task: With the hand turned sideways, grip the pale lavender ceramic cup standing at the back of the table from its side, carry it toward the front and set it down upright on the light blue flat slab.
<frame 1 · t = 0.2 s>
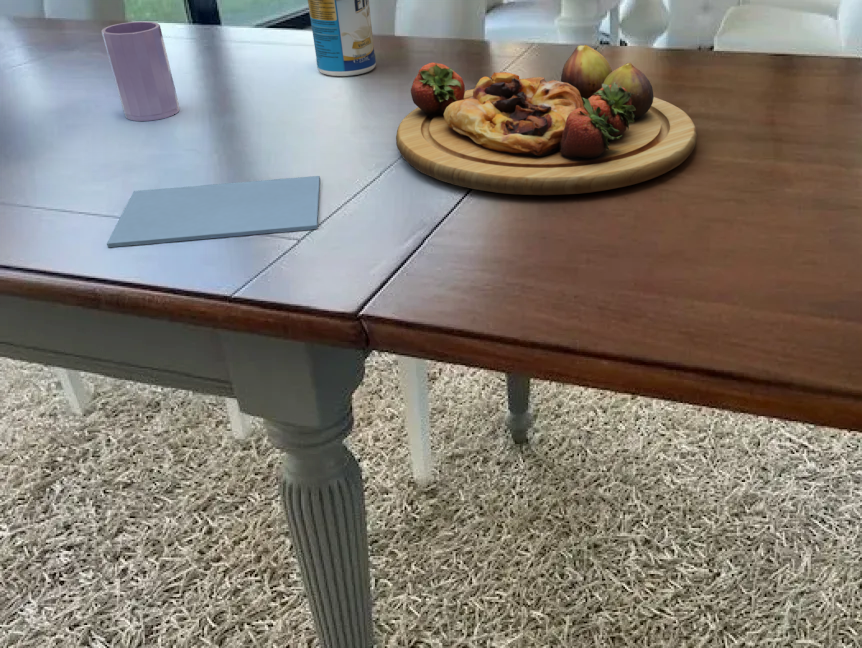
wooden plate: (544, 145, 93), on the table
cup: (152, 112, 105), on the table
beverage bottle: (347, 70, 120), on the table
light blue flat slab: (221, 211, 80), on the table
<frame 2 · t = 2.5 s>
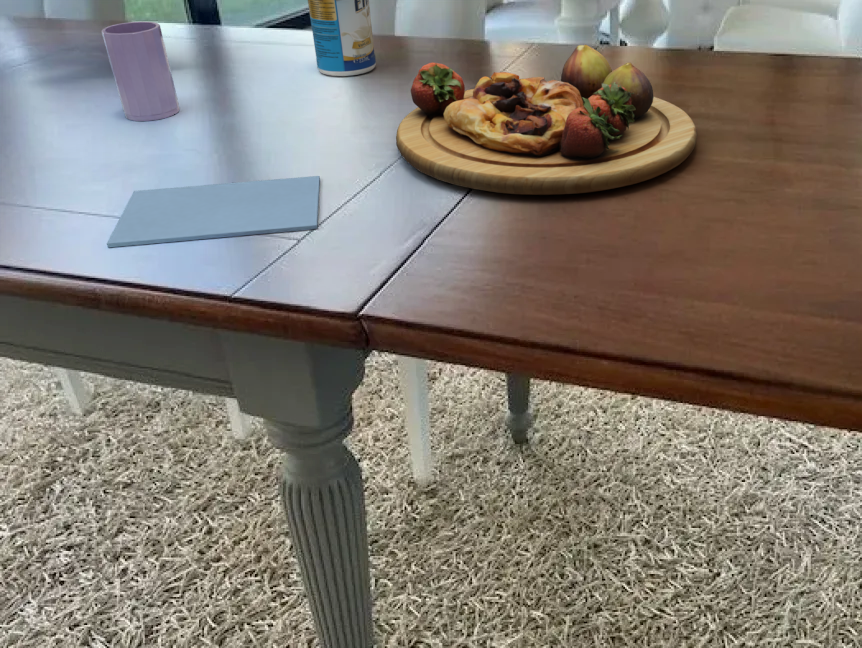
nothing on the table moved.
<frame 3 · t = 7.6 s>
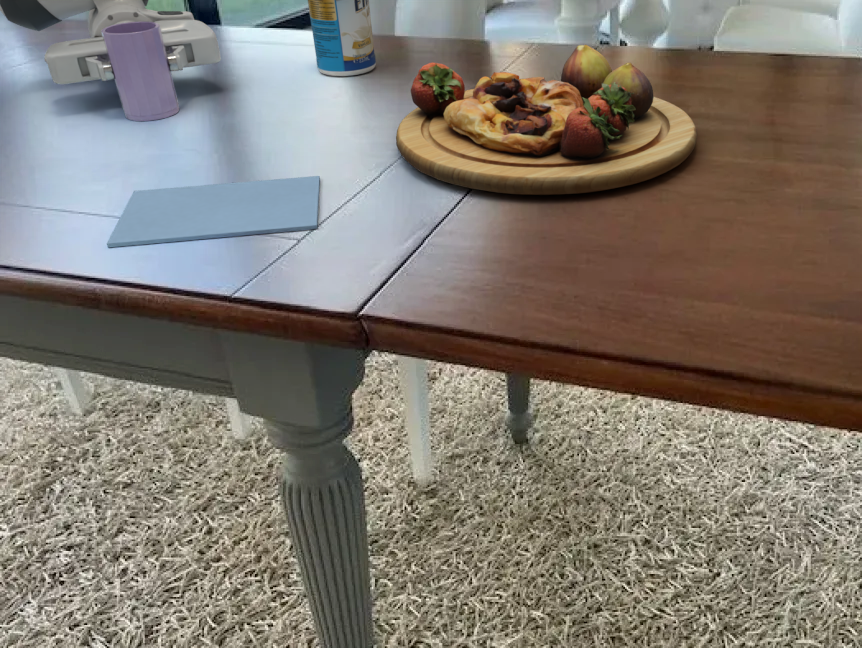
hand: (141, 68, 102), 6 cm above the table, tool horizontal, fingers closed on cup, 6 cm apart
cup: (152, 112, 105), on the table, touching gripper
everything else where it was.
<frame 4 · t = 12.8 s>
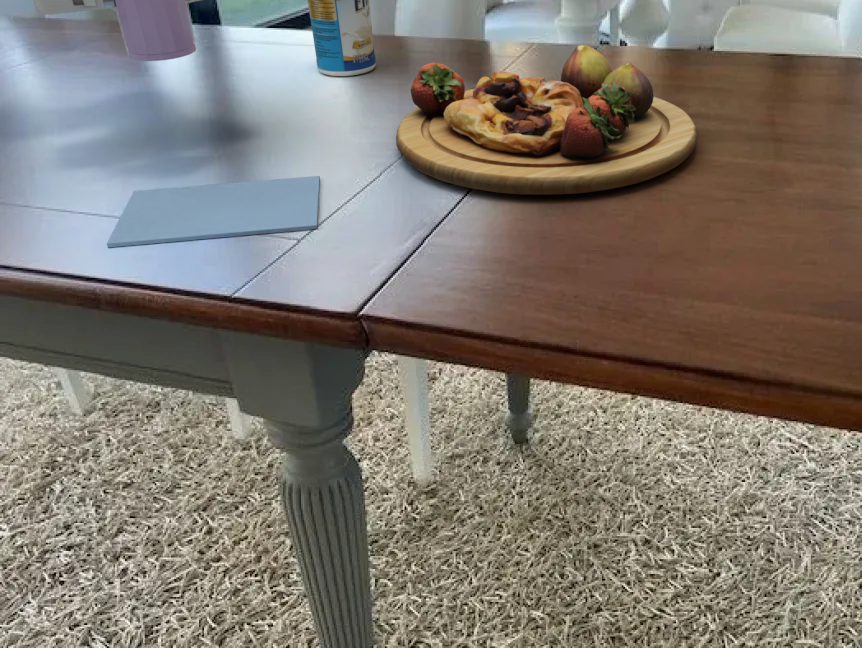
cup: (162, 52, 84), point 11 cm above the table, touching gripper
everything else where it was.
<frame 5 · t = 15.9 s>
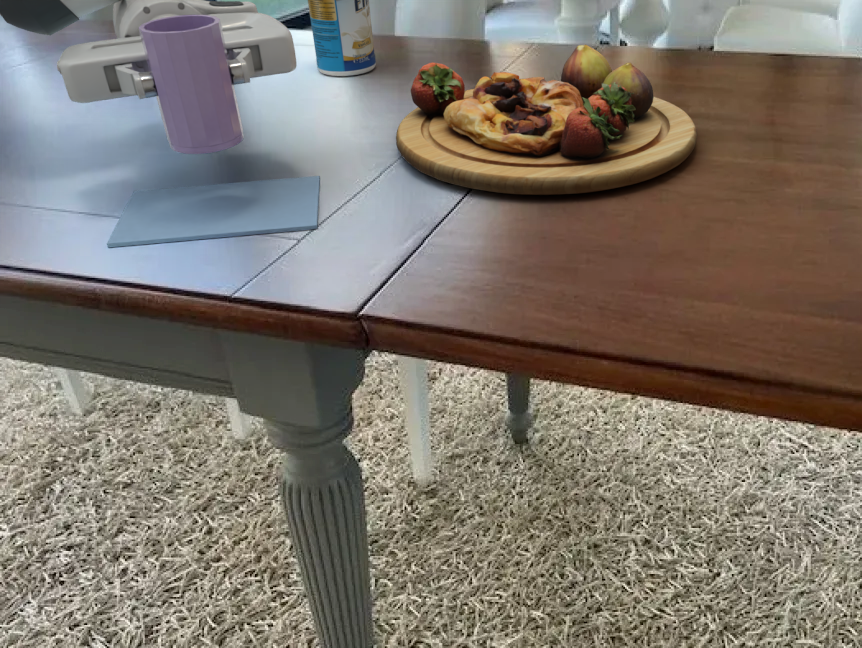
hand: (194, 81, 72), 12 cm above the table, tool horizontal, fingers closed on cup, 6 cm apart
cup: (207, 141, 76), point 7 cm above the table, touching gripper
everything else where it was.
when the fingers open (6 cm above the table, at t = 18.2 s): cup stays where it is, resting on light blue flat slab.
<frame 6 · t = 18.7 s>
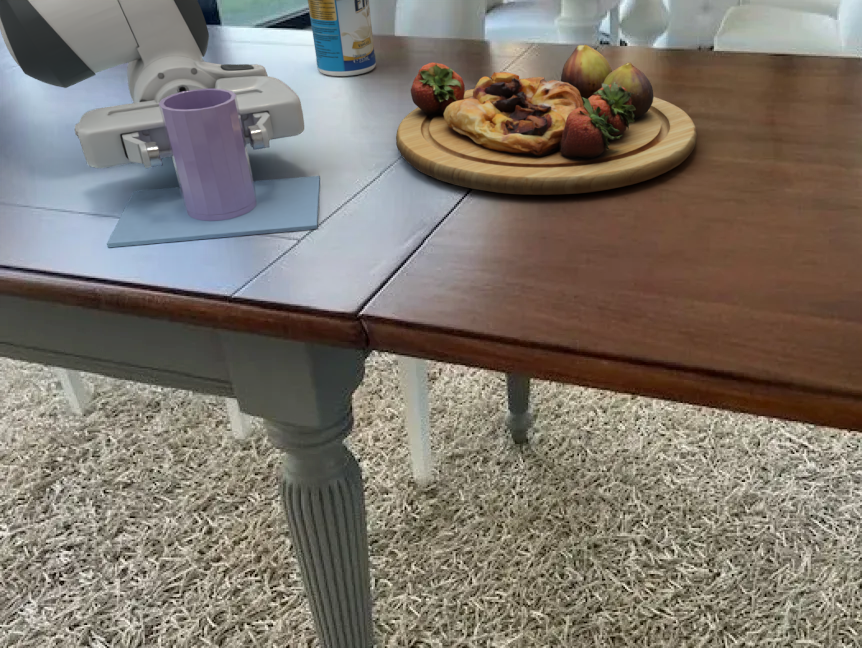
hand: (207, 149, 76), 6 cm above the table, tool horizontal, fingers open, 8 cm apart
cup: (222, 206, 80), resting on light blue flat slab
everything else where it was.
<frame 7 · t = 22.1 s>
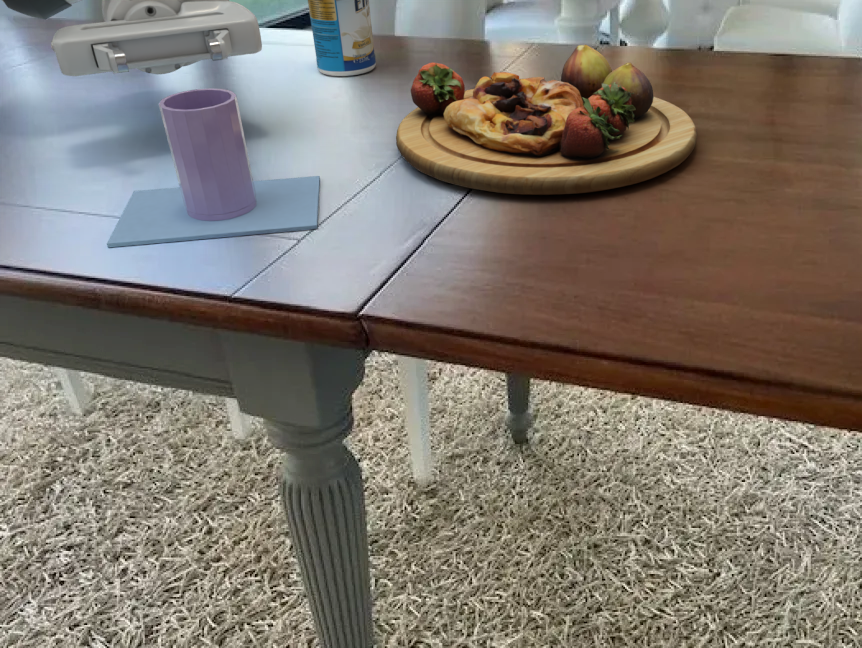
hand: (170, 57, 84), 11 cm above the table, tool horizontal, fingers open, 8 cm apart
nothing on the table moved.
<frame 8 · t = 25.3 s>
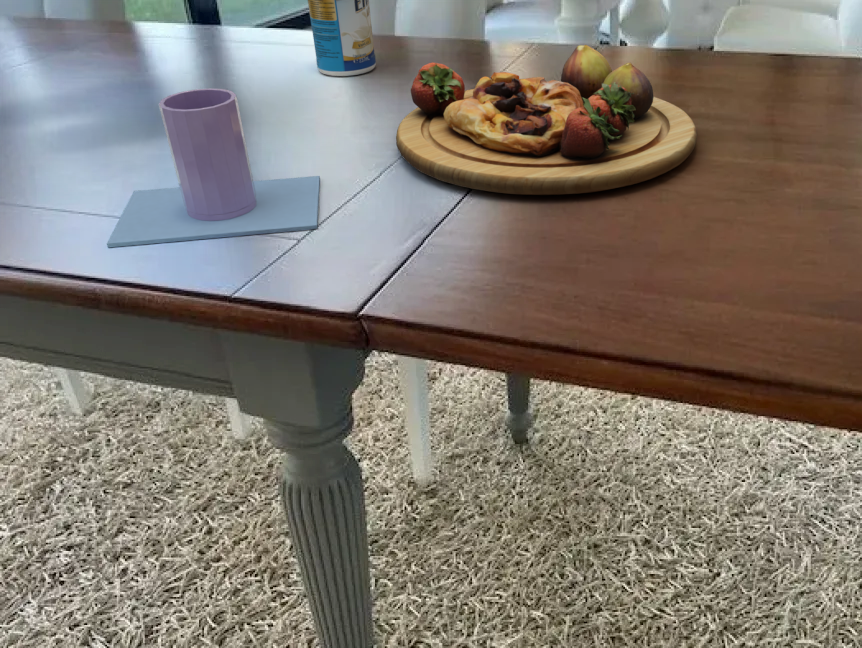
nothing on the table moved.
at the end: cup inside the target area on the light blue flat slab (0.1 cm from its centre), point 0.4 cm above the light blue flat slab's base; cup tilted 0°; the gripper is holding nothing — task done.
